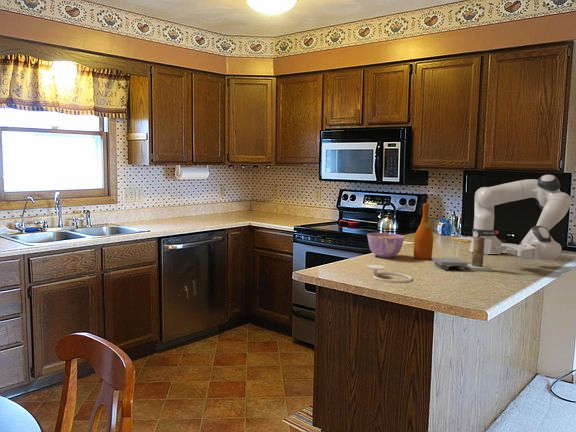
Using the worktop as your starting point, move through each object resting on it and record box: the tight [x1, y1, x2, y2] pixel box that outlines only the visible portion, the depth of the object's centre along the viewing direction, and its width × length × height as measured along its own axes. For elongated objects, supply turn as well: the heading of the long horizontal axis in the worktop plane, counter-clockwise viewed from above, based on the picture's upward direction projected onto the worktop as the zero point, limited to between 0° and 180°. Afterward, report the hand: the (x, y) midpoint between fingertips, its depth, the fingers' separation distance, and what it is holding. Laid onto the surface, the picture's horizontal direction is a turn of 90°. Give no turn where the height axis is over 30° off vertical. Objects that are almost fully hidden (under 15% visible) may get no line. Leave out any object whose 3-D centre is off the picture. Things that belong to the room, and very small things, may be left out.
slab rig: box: [431, 256, 469, 272], centre depth 243 cm, size 13×13×4 cm
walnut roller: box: [471, 237, 485, 267], centre depth 243 cm, size 5×5×14 cm
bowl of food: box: [366, 232, 405, 259], centre depth 268 cm, size 20×20×12 cm
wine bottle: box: [413, 202, 434, 261], centre depth 265 cm, size 10×10×30 cm
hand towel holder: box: [366, 264, 413, 284], centre depth 216 cm, size 17×4×21 cm
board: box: [464, 263, 493, 272], centre depth 244 cm, size 10×10×2 cm
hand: (500, 249), depth 244 cm, fingers open, 8 cm apart
